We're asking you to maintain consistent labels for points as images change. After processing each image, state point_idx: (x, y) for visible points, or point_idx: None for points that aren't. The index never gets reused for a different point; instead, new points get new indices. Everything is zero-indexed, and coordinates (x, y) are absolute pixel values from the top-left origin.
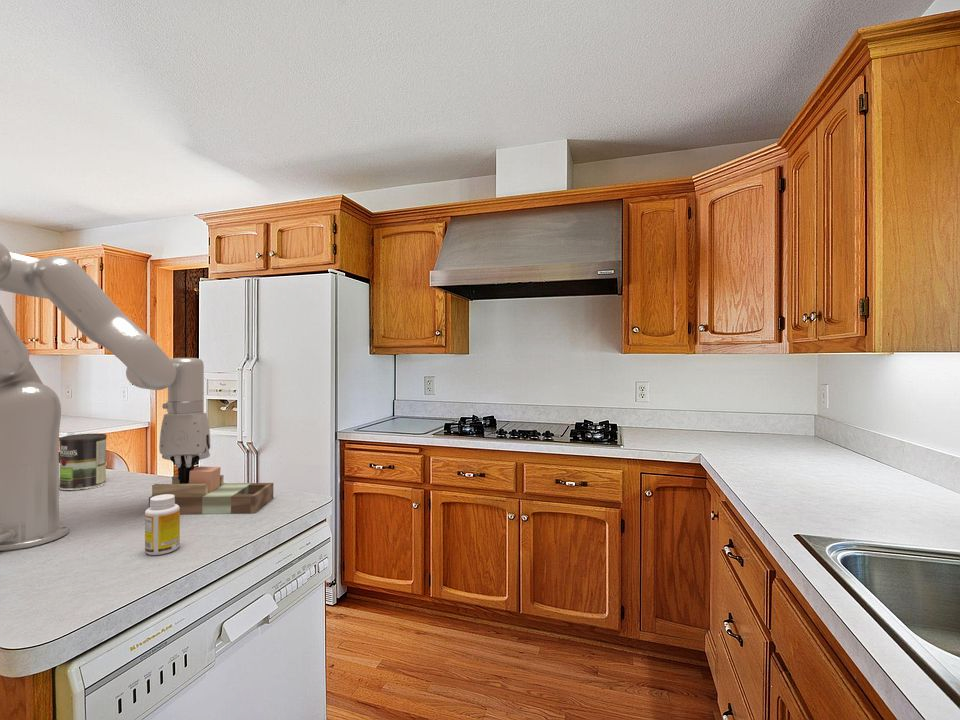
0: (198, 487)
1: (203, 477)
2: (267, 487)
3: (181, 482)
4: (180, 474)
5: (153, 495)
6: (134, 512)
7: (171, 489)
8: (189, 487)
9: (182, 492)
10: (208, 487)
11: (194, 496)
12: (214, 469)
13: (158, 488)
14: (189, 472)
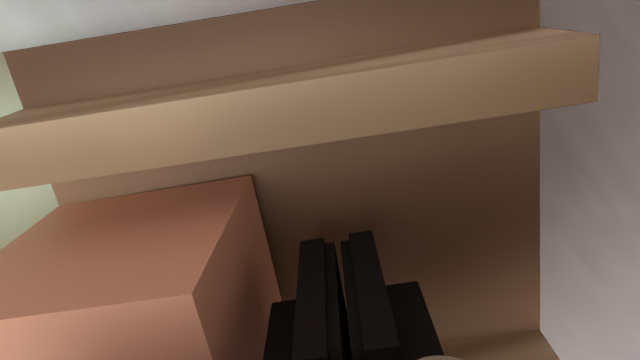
0: (43, 118)
1: (41, 270)
2: None
3: (349, 235)
4: (371, 286)
5: (528, 29)
6: (630, 21)
7: (350, 67)
8: (141, 99)
9: (231, 78)
10: (52, 225)
11: (96, 62)
12: None
13: (504, 45)
14: (280, 347)
